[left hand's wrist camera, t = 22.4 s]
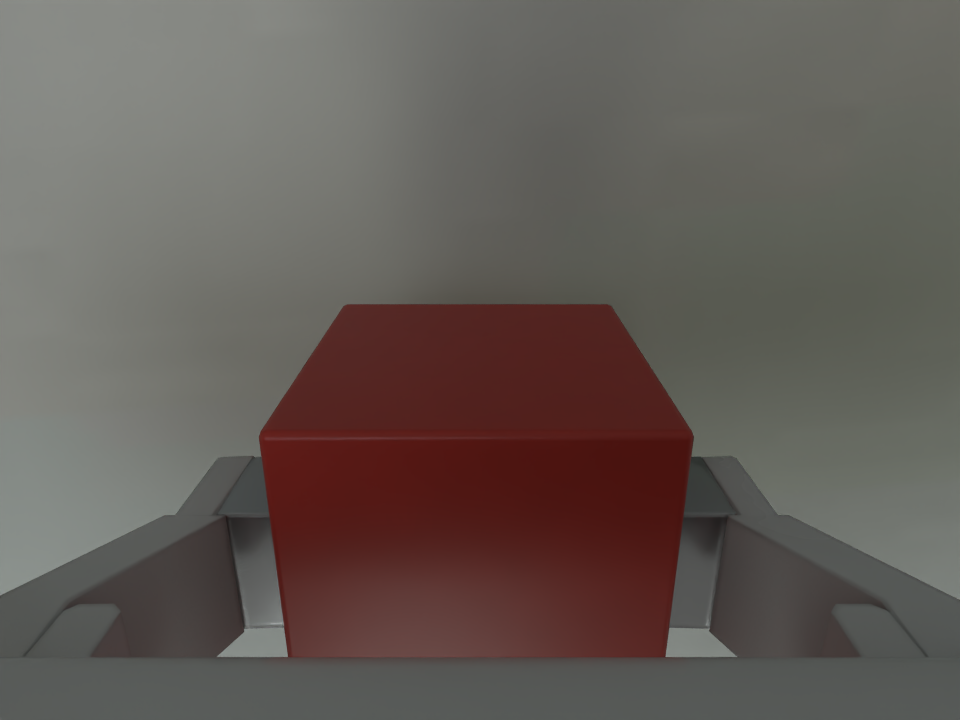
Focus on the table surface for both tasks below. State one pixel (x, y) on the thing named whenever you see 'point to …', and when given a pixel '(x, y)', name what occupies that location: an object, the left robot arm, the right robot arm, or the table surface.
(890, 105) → the table surface
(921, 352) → the table surface
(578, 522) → the block
